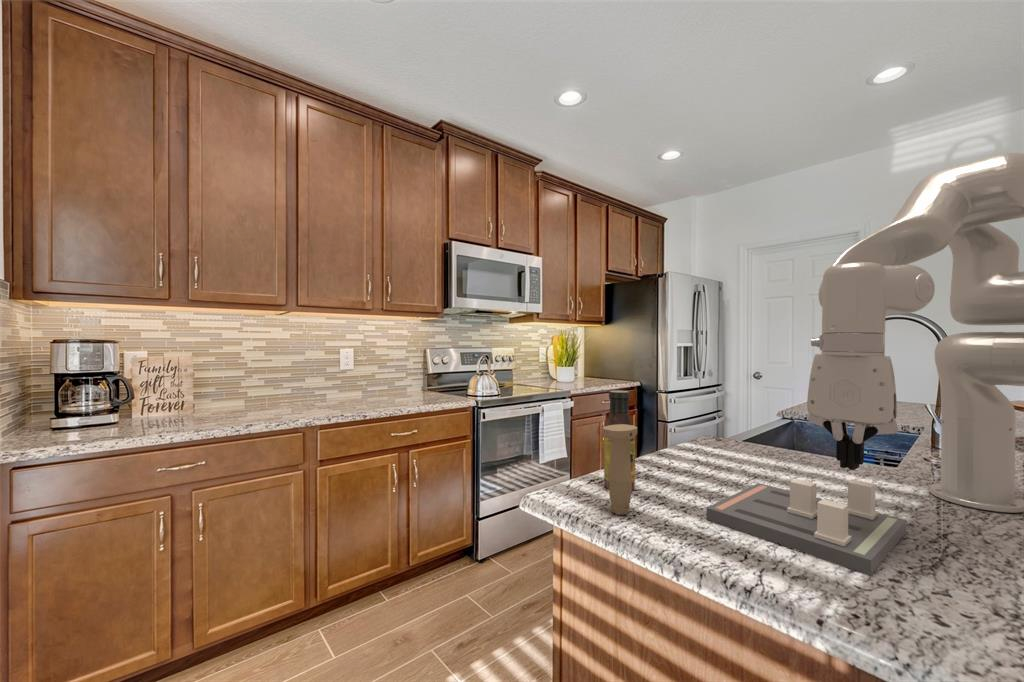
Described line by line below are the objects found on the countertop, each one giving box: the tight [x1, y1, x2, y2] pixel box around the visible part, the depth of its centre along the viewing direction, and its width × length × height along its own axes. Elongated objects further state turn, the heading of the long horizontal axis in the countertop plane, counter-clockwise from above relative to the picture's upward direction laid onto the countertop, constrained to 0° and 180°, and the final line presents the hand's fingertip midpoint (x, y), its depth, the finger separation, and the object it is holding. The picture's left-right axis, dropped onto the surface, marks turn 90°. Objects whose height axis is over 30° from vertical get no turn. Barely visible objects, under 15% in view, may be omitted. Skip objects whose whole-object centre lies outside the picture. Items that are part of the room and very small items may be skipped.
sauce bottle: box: [603, 389, 636, 491], centre depth 89 cm, size 7×6×20 cm
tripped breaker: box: [787, 478, 817, 519], centre depth 71 cm, size 3×4×5 cm
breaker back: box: [847, 479, 879, 520], centre depth 70 cm, size 3×4×5 cm
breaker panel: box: [705, 482, 908, 576], centre depth 71 cm, size 20×22×2 cm
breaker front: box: [814, 498, 851, 547], centre depth 62 cm, size 3×4×5 cm
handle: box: [602, 424, 638, 516], centre depth 77 cm, size 5×6×15 cm
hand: (849, 467), depth 65 cm, fingers closed
